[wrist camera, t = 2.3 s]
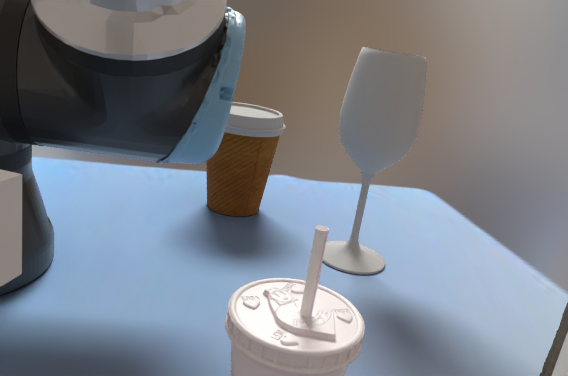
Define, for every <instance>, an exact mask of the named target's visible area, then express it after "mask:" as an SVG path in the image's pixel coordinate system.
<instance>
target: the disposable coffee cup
mask: <svg viewBox="0 0 568 376" xmlns="http://www.w3.org/2000/svg"><path fill="white" fill-rule="evenodd" d="M284 129H285V125H284V124H283V115H282V114H281V113H280V112H278V111H275V110H273V109H269V108H266V107H261V106H257V105H251V104H245V103H236V102H232V106H231V110H230V114H229V118H228V121H227V125H226V128H225V132H224V135H223V138H222V140H221V143H220V145H219V148H218V150H217V151H216V153H215V154H214V155H213V156H212V157H211V158H210V159H209V160H207V205H208V207H209V208H210V209H212V210H213V211H216V212H218V213H221V214H225V215H230V216H249V215H253V214H256V213H257V212H258V210H259V206H260V203H261V199H262V196H263V192H264V189H265V186H266V182H267V178H268V175H269V171H270V168H271V164H272V161H273V157H274V154H275V150H276V147H277V143H278V139H279V136H280V135H281V134H282V131H283V130H284Z"/></svg>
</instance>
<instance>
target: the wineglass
mask: <svg viewBox="0 0 568 376" xmlns="http://www.w3.org/2000/svg"><path fill="white" fill-rule="evenodd" d="M426 61H427V58H426V57H421V56H416V55H410V54H405V53H399V52H393V51H387V50H381V49H374V48H367V47H363V48H362V50H361V52H360V54H359V57H358V59H357V62H356V65H355V67H354V70H353V73H352V75H351V78H350V81H349V84H348V88H347V91H346V94H345V97H344V101H343V104H342V108H341V114H340V121H339V131H340V137H341V141H342V143H343V145H344V148H345V150H346V152H347V153H348V154H349V156H350V157H351V158H352V160H353V161H354V162H355V164H356V165H357V166H358V167H359V169H360V170H361V173H362V187H361V192H360V197H359V201H358V206H357V211H356V215H355V220H354V225H353V229H352V234H351V236H350V239H349V240H348V241H347V242H344V241H328V242H326V246H325V251H324V256H323V262H324V263H325V264H327V265H328V266H330V267H332V268H335V269H337V270H340V271H343V272H348V273H352V274H360V275H368V274H375V273H378V272H380V271H381V270H383V268H384V265H385V262H384V259H383V258H382V257H381V256H380V255H379V254H378V253H377V252H375V251H373V250H371V249H369V248H367V247H365V246H362V245H359V243H358V236H359V231H360V226H361V221H362V217H363V212H364V208H365V203H366V198H367V194H368V189H369V185H370V183H371V180H372V178H373V177H374V176H375V174H376V173H378V172H380V171H382V170H384V169H386V168H388V167H389V166H391V165H393V164H394V163H396V162H398V161H399V160H400V159H401V158H403V157H404V156H405V155H406V154H408V152H409V151H410V149H411V148H412V146H413V145H414V143H415V140H416V138H417V135H418V132H419V128H420V124H421V119H422V112H423V104H424V96H425V84H426V67H427V66H426V65H427V63H426Z"/></svg>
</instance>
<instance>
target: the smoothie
mask: <svg viewBox="0 0 568 376" xmlns="http://www.w3.org/2000/svg"><path fill="white" fill-rule="evenodd" d="M328 231H329V229H328V228H327V227H324V226H316V230H315V235H314V240H313V246H312V251H311V256H310V261H309V267H308V272H307V277H306V281H303V280H297V279H289V278H270V279H262V280H257V281H254V282H251V283H248V284H246V285H244V286H242V287H241V288H239V289H238V290H237V291H235V292H234V294H233V295H232V296H231V298H230V300H229V304H228V312H227V314H226V316H225V329H226V331H227V334H228V337H229V339H230V340H231V376H344V374H345V372H346V369H347V366H348V364H350V363H351V362H353V361H354V360H355V359H356V358H357V356H358V354H359V353H360V351H361V348H362V339H363V334H364V329H365V326H364V321H363V318H362V316H361V314H360V312H359V311H358V310H357V308H356V307H355V306H354V305H353V304H352V303H351V302H350V301H348V300H347V299H346V298H344V297H343V296H342V295H340V294H338V293H336V292H334V291H333V290H330V289H328V288H326V287H323V286H321V285H318V282H319V277H320V272H321V267H322V262H323V256H324V251H325V246H326V241H327V236H328Z"/></svg>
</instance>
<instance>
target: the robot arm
mask: <svg viewBox="0 0 568 376" xmlns="http://www.w3.org/2000/svg"><path fill="white" fill-rule="evenodd" d="M245 29H246V28H245V19H244V17H243V15H241V14H240V13H238V12H236V11H233V10H232V9H231V8H230V7H226V0H0V295H2V294H5V293H7V292H10V291H13V290H15V289H17V288H19V287H22V286H24V285H25V284H27V283H29V282H31V281H32V280H34V279H36V278H37V277H38V276H40V275H41V274H42V273H43V272H44V271H45V270H46V269H47V268H48V267H49V266H50V264H51V262H52V260H53V256H54V230H53V226H52V224H51V221H50V219H49V218H48V216H47V214H46V210H45V207H44V203H43V200H42V197H41V194H40V191H39V188H38V185H37V182H36V179H35V177H34V174H33V170H32V145H39V146H49V147H56V148H63V149H70V150H77V151H84V152H91V153H98V154H105V155H112V156H118V157H125V158H132V159H139V160H146V161H154V162H156V163H159V164H165V163H168V162H177V163H191V164H199V163H203V162H205V161H207V160H209V159H210V158H211V157H212V156H213V155H214V154H215V153H216V151H217V150H218V148H219V145H220V143H221V140H222V138H223V135H224V132H225V128H226V125H227V121H228V118H229V114H230V110H231V106H232V100H233V92H234V91H235V86H236V82H237V79H238V75H239V70H240V65H241V59H242V54H243V47H244V40H245ZM552 376H568V332H567V335H566V338H565V340H564V343H563V346H562V349H561V351H560V354H559V357H558V360H557V362H556V365H555V368H554V371H553V373H552Z"/></svg>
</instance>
